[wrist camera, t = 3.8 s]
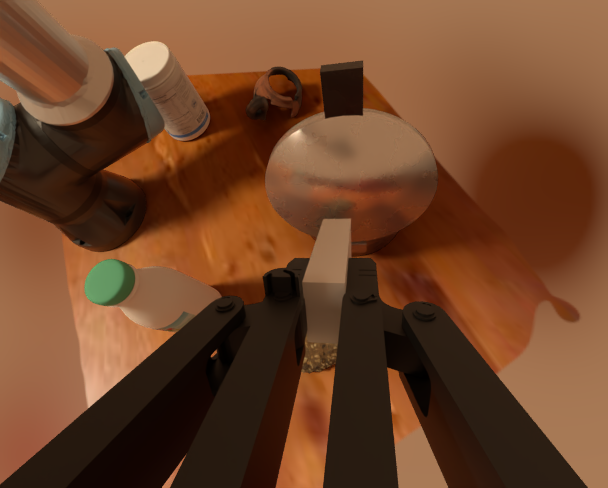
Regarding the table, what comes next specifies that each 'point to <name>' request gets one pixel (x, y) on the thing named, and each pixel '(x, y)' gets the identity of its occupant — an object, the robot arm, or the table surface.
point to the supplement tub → (170, 90)
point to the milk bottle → (149, 294)
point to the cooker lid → (351, 164)
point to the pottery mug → (273, 95)
